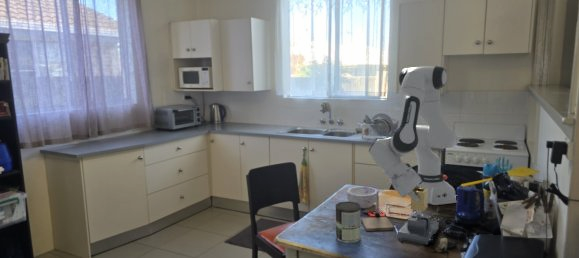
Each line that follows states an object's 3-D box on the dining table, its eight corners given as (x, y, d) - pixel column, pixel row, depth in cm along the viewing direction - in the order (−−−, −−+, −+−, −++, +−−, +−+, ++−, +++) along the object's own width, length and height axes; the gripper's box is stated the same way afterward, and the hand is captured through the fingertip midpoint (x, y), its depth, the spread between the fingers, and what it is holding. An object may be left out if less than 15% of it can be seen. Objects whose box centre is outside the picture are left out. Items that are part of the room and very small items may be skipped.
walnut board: (386, 219, 190) (386, 217, 190) (394, 229, 178) (394, 227, 178) (360, 220, 190) (360, 218, 189) (366, 231, 178) (366, 228, 178)
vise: (410, 223, 184) (411, 189, 182) (438, 228, 178) (439, 193, 175) (397, 238, 169) (398, 201, 167) (427, 244, 163) (428, 206, 160)
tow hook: (367, 212, 201) (368, 218, 192) (367, 186, 200) (368, 191, 190) (385, 212, 200) (386, 219, 191) (385, 186, 198) (386, 192, 189)
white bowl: (341, 205, 210) (341, 190, 209) (359, 198, 220) (359, 184, 219) (365, 213, 199) (365, 197, 198) (383, 205, 209) (383, 190, 208)
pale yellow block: (414, 205, 176) (414, 187, 174) (427, 207, 173) (427, 188, 171) (410, 209, 171) (411, 190, 170) (424, 211, 168) (424, 192, 167)
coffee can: (331, 239, 171) (330, 206, 169) (344, 230, 179) (343, 199, 176) (352, 245, 164) (352, 211, 162) (365, 236, 172) (365, 204, 170)
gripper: (395, 174, 164) (419, 201, 161) (410, 162, 181) (432, 186, 177) (384, 183, 167) (407, 210, 164) (400, 171, 184) (422, 195, 181)
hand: (420, 197), depth 171 cm, fingers closed on pale yellow block, 5 cm apart
